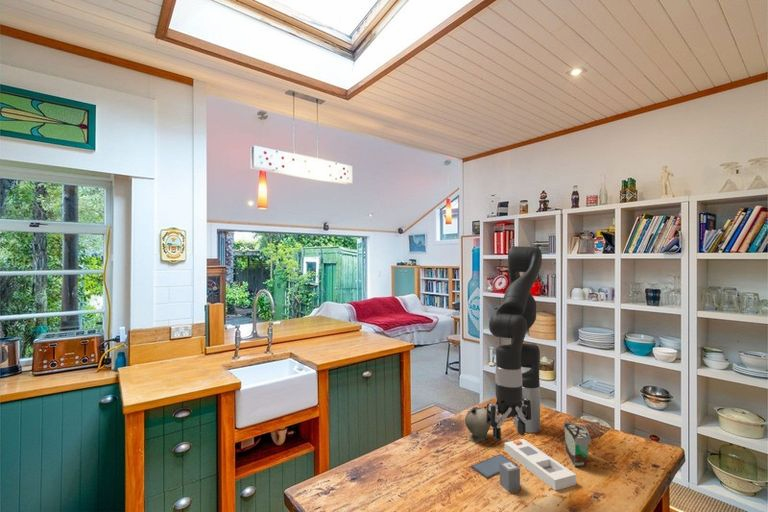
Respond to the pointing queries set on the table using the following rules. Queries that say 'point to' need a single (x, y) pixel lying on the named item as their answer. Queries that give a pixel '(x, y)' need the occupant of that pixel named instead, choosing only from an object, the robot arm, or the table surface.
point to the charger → (509, 476)
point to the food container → (576, 444)
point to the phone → (490, 466)
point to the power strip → (540, 464)
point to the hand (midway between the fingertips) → (509, 437)
